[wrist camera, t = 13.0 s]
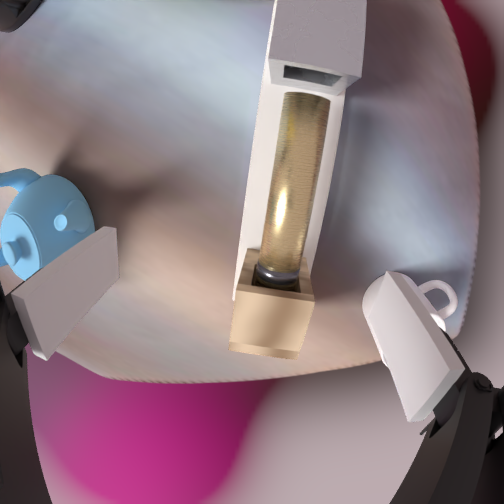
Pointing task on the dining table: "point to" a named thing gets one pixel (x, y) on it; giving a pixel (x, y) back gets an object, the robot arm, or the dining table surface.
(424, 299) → the cup
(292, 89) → the base rail
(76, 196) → the teapot
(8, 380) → the robot arm
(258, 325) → the socket block
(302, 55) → the sleeve
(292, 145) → the slip tube
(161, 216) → the dining table surface
